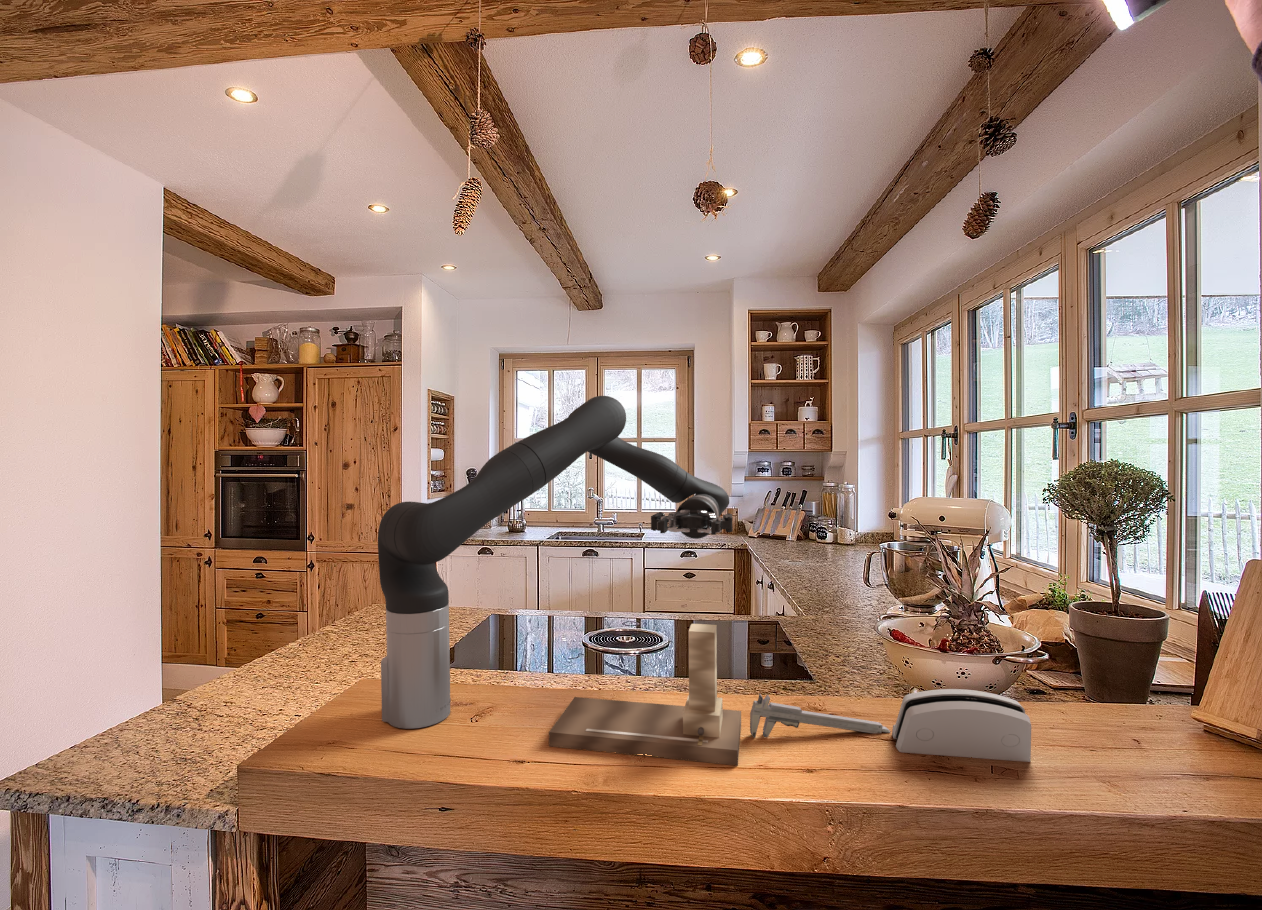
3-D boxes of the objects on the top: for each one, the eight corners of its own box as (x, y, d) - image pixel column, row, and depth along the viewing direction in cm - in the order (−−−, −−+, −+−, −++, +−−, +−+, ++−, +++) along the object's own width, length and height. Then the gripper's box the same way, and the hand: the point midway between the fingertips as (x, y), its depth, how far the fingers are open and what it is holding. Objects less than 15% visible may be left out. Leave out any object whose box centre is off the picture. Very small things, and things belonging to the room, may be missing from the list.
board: (549, 746, 86) (548, 731, 86) (574, 709, 98) (574, 696, 98) (737, 765, 81) (737, 749, 81) (741, 724, 92) (741, 710, 92)
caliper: (751, 740, 88) (751, 696, 88) (749, 736, 89) (749, 693, 89) (890, 734, 89) (890, 691, 89) (887, 731, 90) (887, 688, 90)
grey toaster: (1015, 743, 86) (1027, 686, 82) (1030, 771, 82) (1043, 712, 78) (888, 734, 89) (894, 678, 85) (896, 761, 84) (903, 703, 81)
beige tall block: (682, 736, 84) (681, 635, 84) (688, 715, 91) (687, 620, 91) (719, 740, 83) (718, 637, 83) (722, 718, 90) (722, 622, 90)
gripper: (661, 496, 120) (645, 504, 104) (735, 496, 117) (730, 505, 101) (661, 534, 120) (645, 549, 104) (735, 536, 117) (731, 551, 101)
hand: (687, 527), depth 102 cm, fingers open, 8 cm apart
